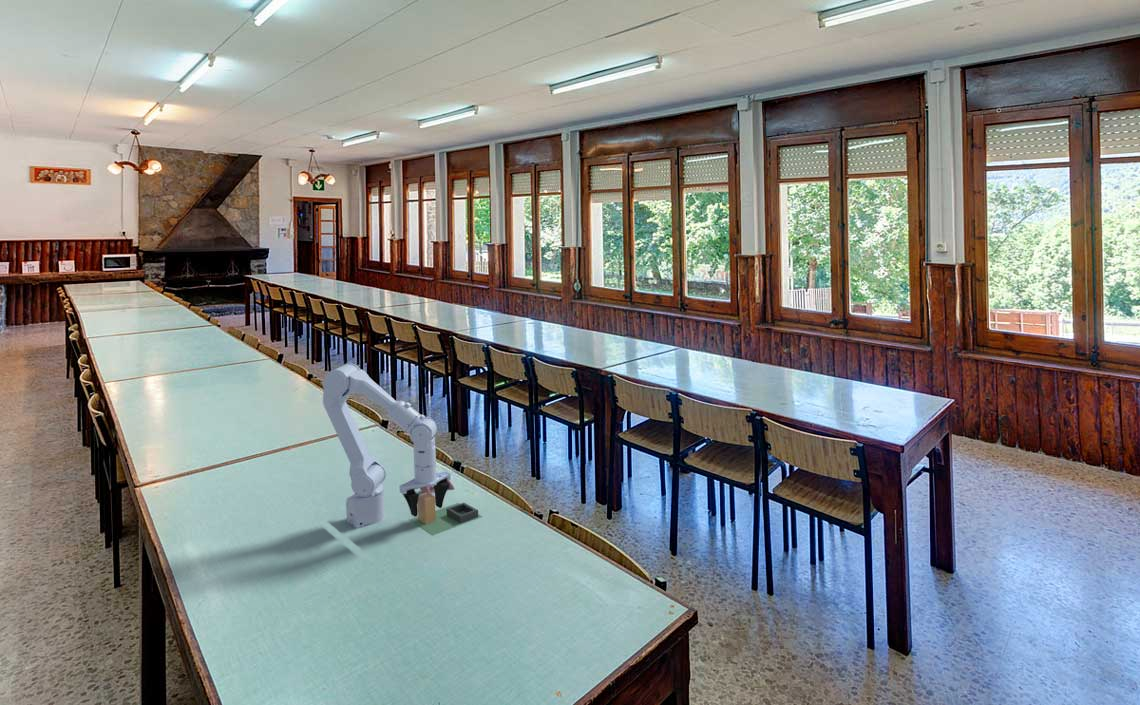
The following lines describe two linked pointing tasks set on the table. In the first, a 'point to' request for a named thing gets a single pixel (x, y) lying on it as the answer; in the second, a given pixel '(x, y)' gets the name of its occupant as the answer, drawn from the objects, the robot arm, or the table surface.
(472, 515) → the board
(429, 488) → the video game controller
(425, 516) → the plug
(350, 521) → the robot arm
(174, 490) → the table surface
